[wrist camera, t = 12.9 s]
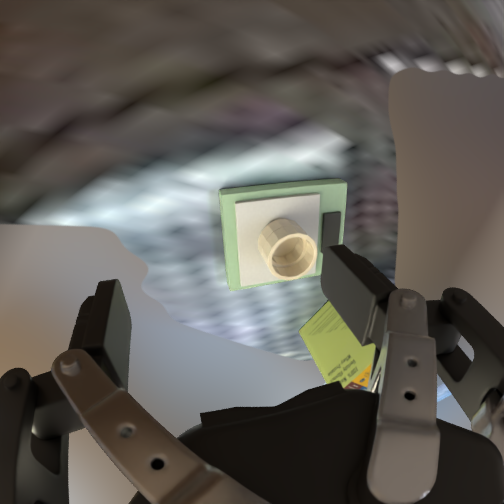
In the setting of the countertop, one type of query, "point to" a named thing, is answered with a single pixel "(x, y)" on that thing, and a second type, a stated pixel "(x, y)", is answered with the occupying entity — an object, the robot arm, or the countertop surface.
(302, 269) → the beige cup
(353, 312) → the robot arm
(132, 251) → the countertop surface
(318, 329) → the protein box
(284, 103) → the countertop surface
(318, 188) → the scale
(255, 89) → the countertop surface
